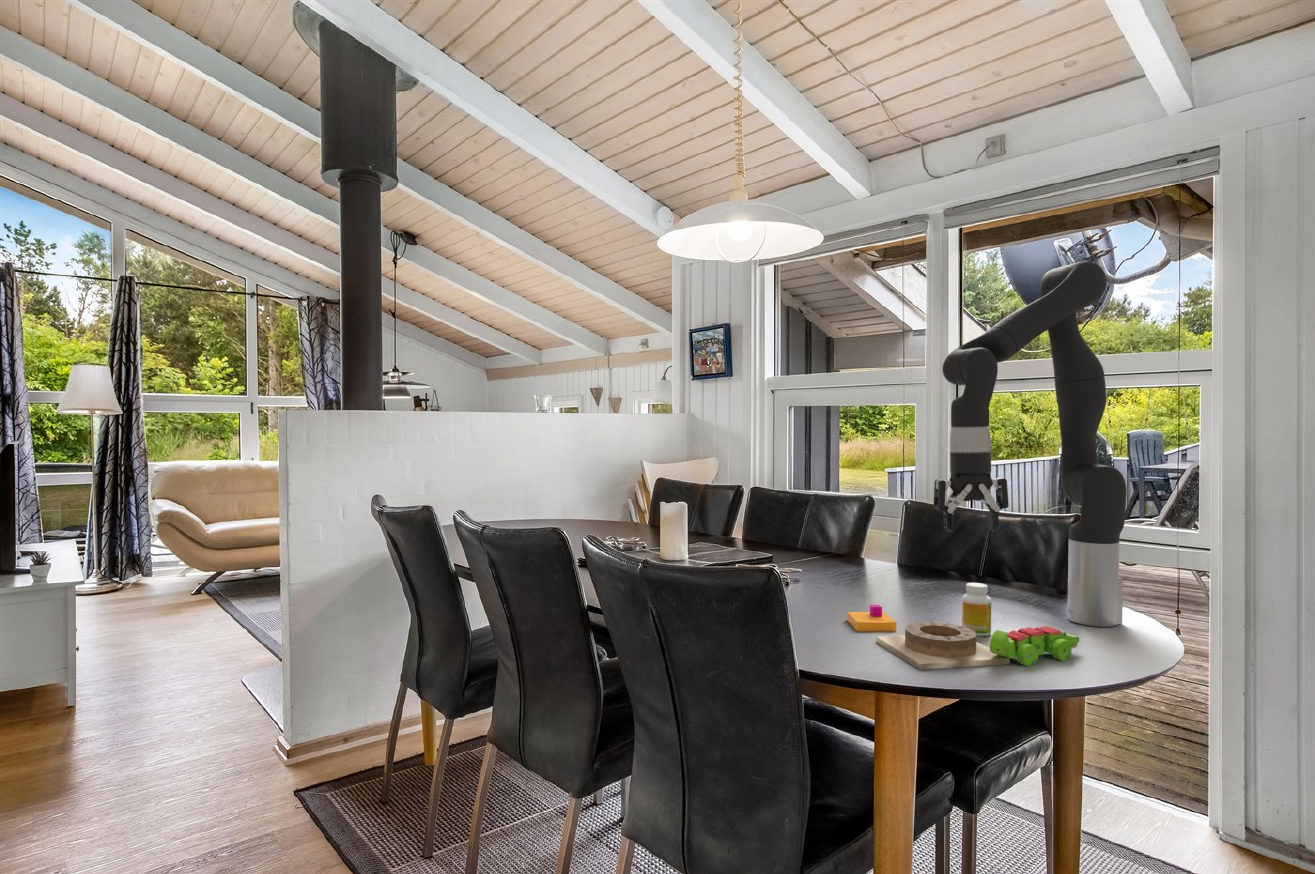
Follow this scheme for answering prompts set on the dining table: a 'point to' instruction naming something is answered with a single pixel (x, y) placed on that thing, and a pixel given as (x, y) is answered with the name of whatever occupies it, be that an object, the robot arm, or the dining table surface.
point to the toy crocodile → (1033, 644)
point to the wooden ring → (940, 639)
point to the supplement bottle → (977, 609)
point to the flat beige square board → (933, 662)
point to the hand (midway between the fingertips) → (971, 530)
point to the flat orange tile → (871, 620)
